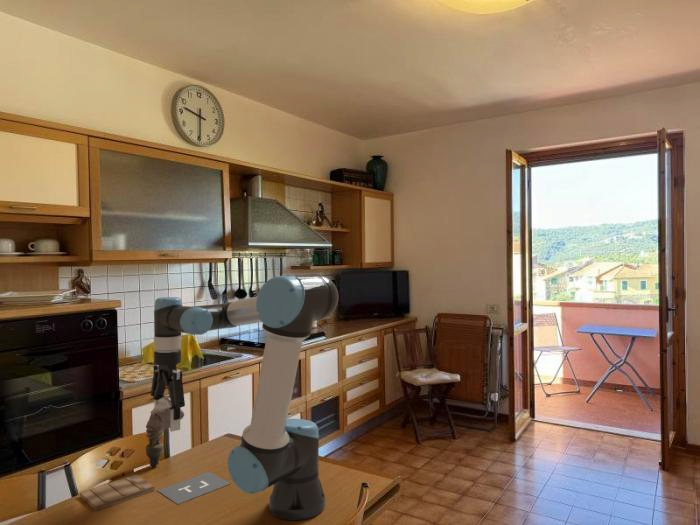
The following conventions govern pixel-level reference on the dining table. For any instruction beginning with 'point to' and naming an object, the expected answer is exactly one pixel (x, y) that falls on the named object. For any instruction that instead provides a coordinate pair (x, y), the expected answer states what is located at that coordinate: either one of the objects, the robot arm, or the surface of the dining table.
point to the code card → (193, 487)
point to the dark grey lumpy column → (154, 446)
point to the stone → (161, 415)
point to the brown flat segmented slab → (116, 492)
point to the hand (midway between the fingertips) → (166, 425)
